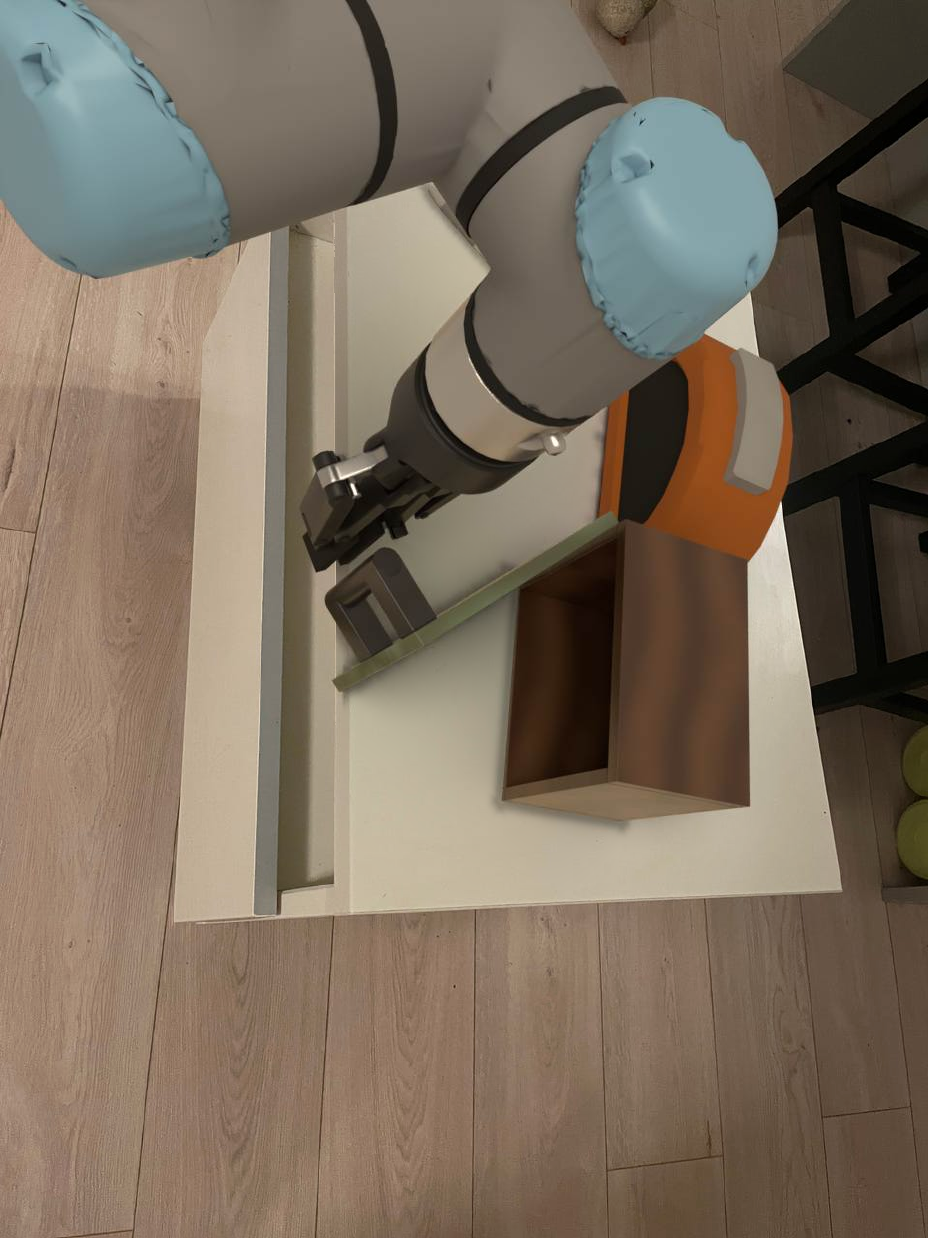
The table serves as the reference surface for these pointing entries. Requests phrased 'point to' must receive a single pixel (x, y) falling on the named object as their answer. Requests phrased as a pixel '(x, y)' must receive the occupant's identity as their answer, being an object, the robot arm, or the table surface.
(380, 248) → the table surface
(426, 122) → the robot arm
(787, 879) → the table surface
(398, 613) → the cupboard door
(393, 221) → the table surface
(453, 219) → the pen
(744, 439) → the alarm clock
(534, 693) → the cupboard
